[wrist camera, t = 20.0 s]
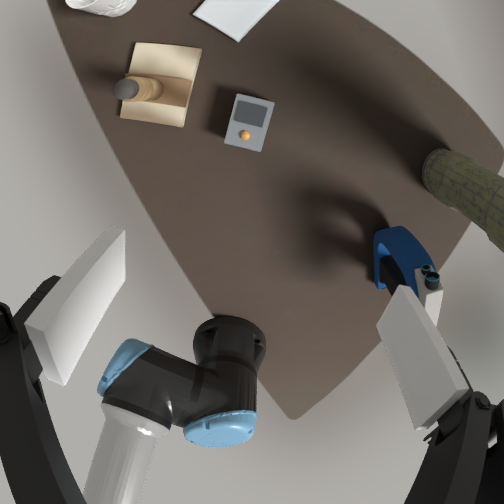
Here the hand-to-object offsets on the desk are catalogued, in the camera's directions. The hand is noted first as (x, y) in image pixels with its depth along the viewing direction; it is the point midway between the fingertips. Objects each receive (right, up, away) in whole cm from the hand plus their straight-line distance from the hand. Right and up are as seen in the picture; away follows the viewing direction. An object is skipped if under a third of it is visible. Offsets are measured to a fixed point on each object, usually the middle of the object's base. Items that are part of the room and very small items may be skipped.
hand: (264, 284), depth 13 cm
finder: (-1, +20, +26) cm, 33 cm away
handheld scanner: (+23, +1, +36) cm, 43 cm away
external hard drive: (-2, +37, +17) cm, 41 cm away
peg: (-14, +24, +22) cm, 35 cm away
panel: (-14, +26, +23) cm, 37 cm away
